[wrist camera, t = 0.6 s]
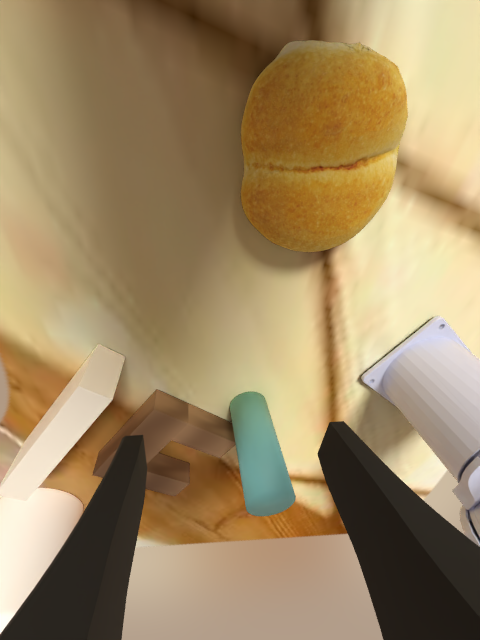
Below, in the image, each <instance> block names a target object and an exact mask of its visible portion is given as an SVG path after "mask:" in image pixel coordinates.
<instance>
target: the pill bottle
mask: <svg viewBox="0 0 480 640" xmlns="http://www.w3.org/2000/svg"><path fill="white" fill-rule="evenodd" d="M83 511H84V506H83V504H82V502H81V501H80V500H79V499H78V498H77V497H75V496H74V495H72V494H70V493H68V492H65V491H62V490H57V489H52V488H37V489H36V490H35V491H34V493H33V494H32V495H31V496H30V497H29V498H28V500H27V501H23V500H18V499H13V498H8V497H0V634H1V632H2V631H3V630H4V628H5V627H6V626H7V624H8V623H9V622H10V620H11V619H12V617H13V616H14V615H15V613H16V612H17V611H18V609H19V608H20V607H21V605H22V604H23V602H24V601H25V600H26V598H27V597H28V596H29V594H30V593H31V591H32V590H33V589H34V587H35V586H36V584H37V583H38V582H39V580H40V579H41V577H42V576H43V574H44V573H45V571H46V570H47V569H48V567H49V566H50V564H51V563H52V561H53V560H54V558H55V557H56V555H57V554H58V552H59V551H60V549H61V548H62V546H63V545H64V543H65V541H66V540H67V538H68V537H69V535H70V533H71V532H72V530H73V529H74V527H75V525H76V524H77V522H78V521H79V519H80V517H81V516H82V514H83Z"/></svg>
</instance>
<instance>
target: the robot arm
mask: <svg viewBox="0 0 480 640" xmlns="http://www.w3.org/2000/svg"><path fill="white" fill-rule="evenodd" d="M361 379H362V381H363V382H364V383H365V384H367V385H368V386H369V387H371V388H372V389H373V390H375V391H376V392H377V393H379V394H380V395H381V396H383V397H384V398H385V399H387V400H388V401H389V402H391V403H392V404H393V405H395V406H396V407H397V408H398V409H399V410H400V411H401V412H402V414H403V415H404V416H405V417H406V419H407V420H408V421H409V422H410V424H411V425H412V426H413V427H414V429H415V430H416V431H417V432H418V433H419V435H420V436H421V437H422V438H423V440H424V441H425V442H426V443H427V445H428V446H429V447H430V448H431V449H432V451H433V452H434V453H435V454H436V456H437V457H438V458H439V459H440V461H441V462H442V463H443V464H444V465H445V467H446V468H447V469H448V470H449V472H450V473H451V474H452V475H453V477H454V478H455V479H456V480H457V481H458V483H459V484H458V485H457V486H456V487H455V488H454V489H453V493H454V494H455V495H456V496H457V498H458V499H459V500H460V502H461V503H462V504H463V506H462V507H461V509H460V521H461V524H462V527H463V530H464V533H465V535H466V536H465V535H464V534H463V533H461V532H460V531H459V530H457V529H456V528H455V527H454V526H453V525H451V524H450V523H449V522H448V521H446V520H445V519H444V518H443V517H442V516H441V515H439V514H438V513H437V512H436V511H435V510H433V509H432V508H431V507H430V506H429V505H428V504H427V503H425V502H424V501H423V500H422V499H421V498H420V497H419V496H418V495H417V494H416V493H415V492H413V491H412V490H411V489H410V488H409V487H408V486H407V485H406V484H405V483H404V482H403V481H402V480H401V479H400V478H399V477H397V476H396V475H395V474H394V473H393V472H392V471H391V470H390V469H389V468H388V467H387V466H386V465H385V464H384V463H383V462H382V461H381V460H380V459H379V458H378V457H377V456H376V455H375V454H374V453H373V451H372V450H371V449H370V448H369V447H368V446H367V445H366V444H365V443H364V442H363V441H362V440H361V439H360V438H359V437H358V436H357V435H356V434H355V433H354V432H353V431H352V430H351V428H350V427H349V426H348V425H347V424H346V423H345V422H344V421H342V422H330V423H329V425H328V428H327V431H326V433H325V436H324V438H323V441H322V444H321V446H320V449H319V451H318V457H319V460H320V464H321V467H322V471H323V474H324V477H325V480H326V483H327V485H328V488H329V490H330V492H331V495H332V497H333V500H334V502H335V504H336V507H337V509H338V511H339V514H340V516H341V518H342V521H343V523H344V526H345V528H346V530H347V533H348V535H349V537H350V540H351V542H352V544H353V547H354V550H355V552H356V554H357V557H358V560H359V563H360V566H361V569H362V572H363V575H364V578H365V581H366V584H367V587H368V590H369V593H370V597H371V599H372V603H373V606H374V609H375V612H376V616H377V619H378V622H379V625H380V629H381V632H382V636H383V639H384V640H480V359H479V358H478V357H476V356H475V355H473V354H472V353H471V351H470V350H469V349H468V348H467V346H466V345H465V344H464V343H463V341H462V340H461V339H460V338H459V337H458V335H457V334H456V333H455V332H454V330H453V329H452V328H451V327H450V325H449V324H448V323H447V322H446V321H445V319H444V318H442V317H440V316H436V317H434V318H433V319H431V320H430V321H429V322H428V323H426V324H425V325H424V326H423V327H421V328H420V329H419V330H418V331H416V332H415V333H414V334H413V335H411V336H410V337H409V338H408V339H406V340H405V341H404V342H403V343H401V344H400V345H399V346H398V347H396V348H395V349H394V350H393V351H392V352H390V353H389V354H388V355H387V356H385V357H384V358H383V359H382V360H380V361H379V362H378V363H377V364H375V365H374V366H373V367H372V368H370V369H369V370H368V371H367V372H365V373H364V374H363V375H362V377H361ZM146 477H147V462H146V454H145V446H144V438H143V435H132V436H124V437H123V438H122V440H121V442H120V445H119V447H118V449H117V451H116V453H115V456H114V458H113V460H112V462H111V464H110V466H109V468H108V470H107V471H106V473H105V475H104V477H103V479H102V481H101V483H100V485H99V486H98V488H97V490H96V492H95V493H94V495H93V497H92V499H91V501H90V502H89V504H88V506H87V507H86V509H85V511H84V512H83V514H82V516H81V517H80V519H79V521H78V522H77V524H76V525H75V527H74V529H73V530H72V532H71V533H70V535H69V537H68V538H67V540H66V541H65V543H64V545H63V546H62V548H61V549H60V551H59V552H58V554H57V555H56V557H55V558H54V560H53V561H52V563H51V564H50V566H49V567H48V569H47V570H46V571H45V573H44V574H43V576H42V577H41V579H40V580H39V582H38V583H37V584H36V586H35V587H34V589H33V590H32V591H31V593H30V594H29V596H28V597H27V598H26V600H25V601H24V602H23V604H22V605H21V607H20V608H19V609H18V611H17V612H16V613H15V615H14V616H13V617H12V619H11V620H10V622H9V623H8V624H7V626H6V627H5V628H4V630H3V631H2V632H1V634H0V640H121V638H122V629H123V620H124V612H125V603H126V596H127V589H128V583H129V577H130V572H131V567H132V562H133V556H134V551H135V546H136V541H137V536H138V530H139V525H140V520H141V515H142V509H143V504H144V497H145V488H146Z"/></svg>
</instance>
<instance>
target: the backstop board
mask: <svg viewBox="0 0 480 640" xmlns="http://www.w3.org/2000/svg"><path fill="white" fill-rule="evenodd" d="M124 360H125V356H123V355H121V354H119V353H117V352H115V351H112V350H110V349H108V348H106V347H104V346H102V345H100V344H98V345H97V346H96V347H95V349H94V350H93V351H92V353H91V354H90V355H89V356H88V358H87V359H86V360H85V362H84V363H83V364H82V366H81V367H80V368H79V370H78V371H77V372H76V374H75V375H74V376H73V378H72V379H71V380H70V382H69V383H68V384H67V386H66V387H65V388H64V390H63V391H62V392H61V394H60V395H59V396H58V398H57V399H56V400H55V402H54V403H53V404H52V406H51V407H50V408H49V410H48V411H47V412H46V414H45V415H44V416H43V418H42V419H41V420H40V422H39V423H38V424H37V426H36V427H35V428H34V430H33V431H32V432H31V434H30V435H29V436H28V438H27V439H26V440H25V442H24V443H23V445H22V447H21V449H20V450H19V452H18V454H17V456H16V457H15V459H14V461H13V463H12V465H11V466H10V468H9V470H8V472H7V474H6V475H5V477H4V479H3V481H2V482H1V484H0V496H2V497H8V498H13V499H18V500H23V501H27V500H28V498H29V497H30V496H31V495H32V494H33V493H34V491H35V490H36V489H37V488H38V487H39V486H40V484H41V483H42V482H43V481H44V480H45V478H46V477H47V476H48V475H49V474H50V473H51V471H52V470H53V469H54V468H55V467H56V466H57V464H58V463H59V462H60V461H61V460H62V459H63V457H64V456H65V455H66V454H67V453H68V452H69V450H70V449H71V448H72V447H73V446H74V444H75V443H76V442H77V441H78V440H79V439H80V437H81V436H82V435H83V434H84V433H85V432H86V430H87V429H88V428H89V427H90V426H91V425H92V423H93V422H94V421H95V420H96V419H97V417H98V416H99V415H100V414H101V413H102V412H103V410H104V409H105V408H106V407H107V406H108V405H109V403H110V402H111V401H112V400H113V397H114V394H115V390H116V387H117V384H118V380H119V377H120V374H121V370H122V367H123V364H124Z"/></svg>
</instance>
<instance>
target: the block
mask: <svg viewBox="0 0 480 640" xmlns="http://www.w3.org/2000/svg"><path fill="white" fill-rule="evenodd" d="M132 435H143V438H144V446H145V454H146V462H147V477H146V488H145V489H148V490H152V491H156V492H160V493H164V494H167V495H171V496H176V495H177V494H178V493H180V492H181V491H182V490H183V489H184V488H185V487H187V486H188V485H189V484H190V467H189V463H187V462H184V461H181V460H178V459H175V458H172V457H169V456H166V455H163V454H160V453H159V452H160V451H161V450H162V449H163V448H164V447H165V446H166V445H167V444H168V443H169V442H170V441H171V440H172V441H174V442H177V443H180V444H183V445H185V446H188V447H191V448H194V449H196V450H199V451H202V452H204V453H207V454H210V455H213V456H215V457H218V458H221V457H222V456H223V455H224V454H225V453H226V452H228V451H229V450H230V449H231V448H232V447H233V446H235V445H236V443H235V437H234V431H233V425H232V423H231V422H229V421H226V420H224V419H222V418H220V417H218V416H215V415H213V414H211V413H209V412H206V411H204V410H202V409H200V408H197V407H195V406H193V405H191V404H189V403H186V402H184V401H182V400H180V399H177V398H175V397H173V396H171V395H168V394H166V393H164V392H162V391H160V390H156V391H155V392H154V393H153V394H152V395H151V396H150V397H149V398H148V399H147V401H146V402H145V403H144V404H143V405H142V406H141V407H140V408H139V409H138V410H137V411H136V413H135V414H134V415H133V416H132V417H131V418H130V419H129V420H128V421H127V422H126V424H125V425H124V426H123V427H122V428H121V429H120V430H119V431H118V432H117V433H116V434H115V436H114V437H113V438H112V439H111V440H110V441H109V442H108V443H107V444H106V445H105V446H104V448H103V449H102V450H101V451H100V452H99V454H98V457H97V461H96V464H95V468H94V471H93V475H94V476H98V477H102V478H103V477H104V475H105V473H106V471H107V470H108V468H109V466H110V464H111V462H112V460H113V458H114V456H115V453H116V451H117V449H118V447H119V445H120V442H121V440H122V438H123V437H124V436H132Z"/></svg>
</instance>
